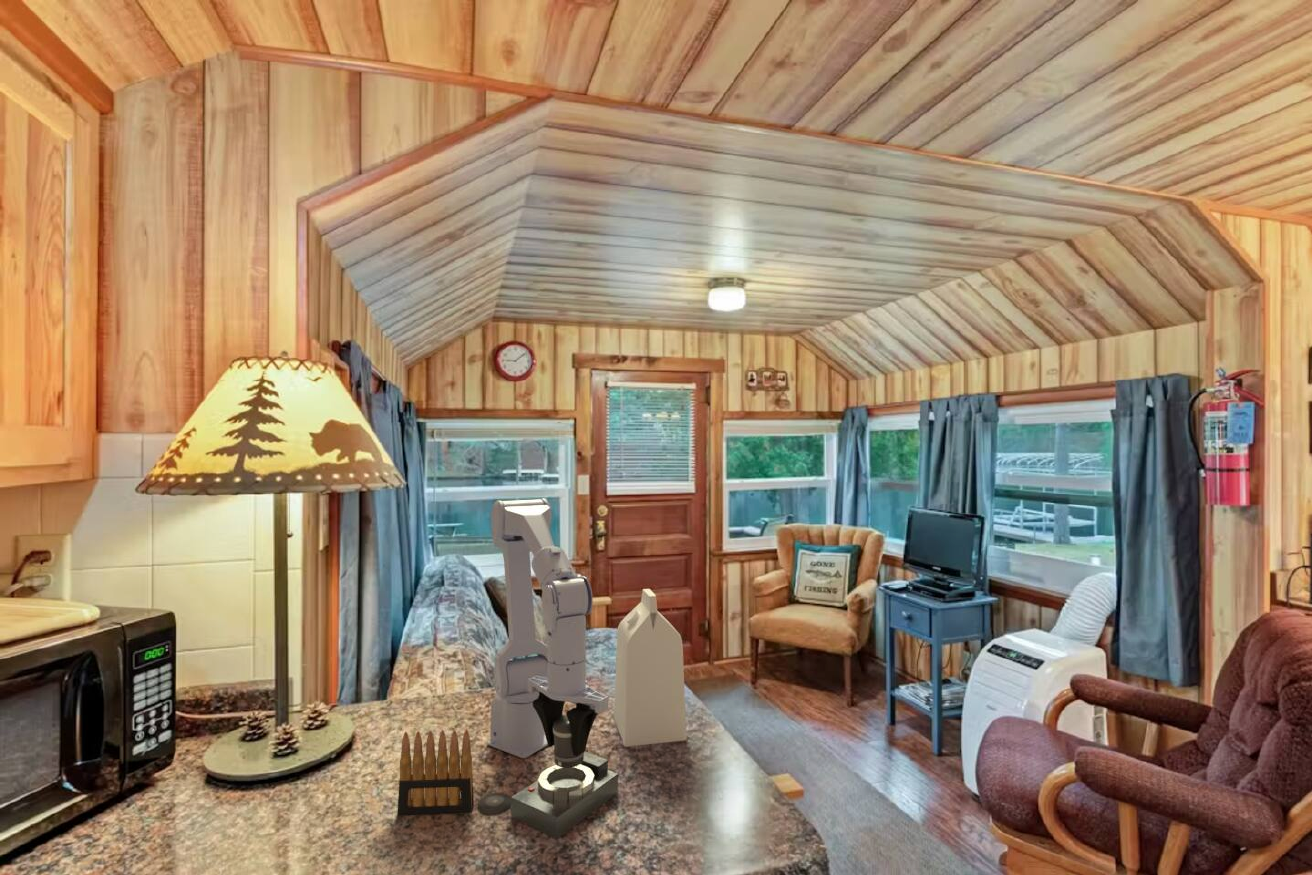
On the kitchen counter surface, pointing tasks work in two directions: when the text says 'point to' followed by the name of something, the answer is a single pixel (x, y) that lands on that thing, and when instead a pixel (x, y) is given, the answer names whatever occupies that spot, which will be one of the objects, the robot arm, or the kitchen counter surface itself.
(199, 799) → the kitchen counter surface
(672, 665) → the milk
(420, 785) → the ammunition clip
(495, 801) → the lens cap
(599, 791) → the camera body
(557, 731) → the lens
